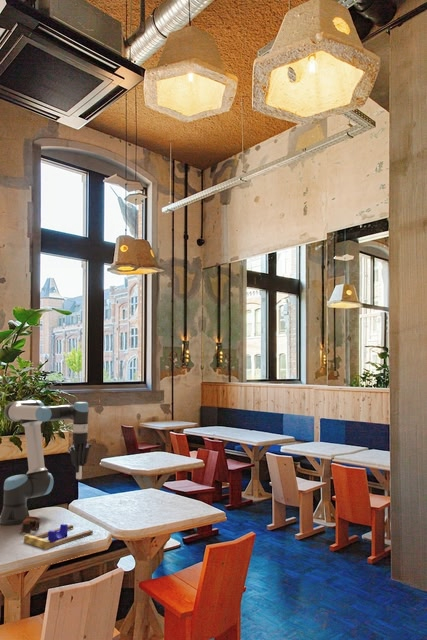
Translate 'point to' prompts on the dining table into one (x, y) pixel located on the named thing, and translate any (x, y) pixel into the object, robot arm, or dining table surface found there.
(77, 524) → the dining table surface
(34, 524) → the pottery mug
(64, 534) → the cable clip
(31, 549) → the dining table surface
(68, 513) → the dining table surface
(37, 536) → the guide lane
